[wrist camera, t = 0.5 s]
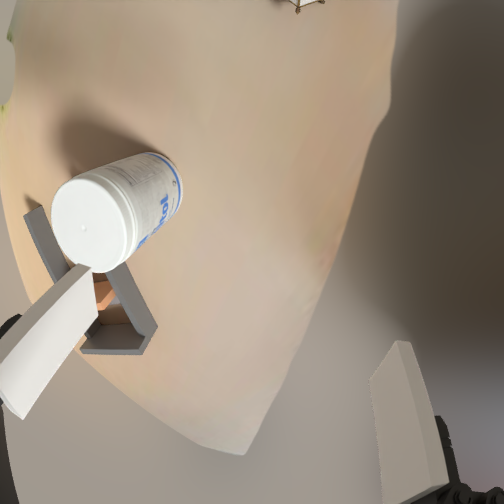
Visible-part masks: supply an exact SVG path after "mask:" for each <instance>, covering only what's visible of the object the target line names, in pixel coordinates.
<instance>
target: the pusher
mask: <svg viewBox="0 0 504 504" xmlns="http://www.w3.org/2000/svg"><path fill="white" fill-rule="evenodd" d="M93 284H94V292H95V298H96V305H97V311H98V310H104V309H105V308H106V307H107V306H108V305H113V304H121V303H120V301H119V299H118V297H117V296H116V294H115V292H114V290H113V288H112V286H111V284H110V282H109V280H107V281H102V282H97V283H93Z"/></svg>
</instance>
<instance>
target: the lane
mask: <svg viewBox="0 0 504 504" xmlns="http://www.w3.org/2000/svg"><path fill="white" fill-rule="evenodd" d="M23 217H24V219H25V222H26V224H27V227H28V229H29V232H30V234H31V236H32V239H33V241H34V243H35V245H36V248H37V250H38V252H39V254H40V256H41V258H42V260H43V262H44V264H45V266H46V268H47V270H48V272H49V274H50V276H51V278H52V280H53V282H54V284H55V283H56V282H58V281H59V280H60V279H61V278H62V277H63V276H64V275H65V274H66V273H67V272H68V271H70V268H69V266H68V264H67V262H66V260H65V258H64V256H63V254H62V252H61V250H60V247H59V245H58V243H57V241H56V239H55V236H54V234H53V232H52V229H51V227H50V225H49V222H48V220H47V217H46V215H45V212H44V210H43V207H42V206H40V207H38V208H36V209H34V210H32V211H31V212H29V213H27V214H25V215H24V216H23ZM105 274H106V276H107V278H108V280H109V282H110V284H111V286H112V288H113V290H114V292H115V294H116V296H117V297H118V299H119V301H120V303H121V305H122V307H123V308H124V310H125V312H126V314H127V316H128V317H129V319H130V321H131V323H127V324H112V325H101V324H100V322H99V321H98V319H97V318H96V319H95V320H94V322H93V323H92V324H91V325H90V327H89V328H88V329H87V331H86V332H85V333H84V334H85V336H86V337H87V339H86V341H85V342H84V343H83V345H82V346H81V347H80V350H81V352H82V353H83V354H101V355H142V354H143V352H144V351H145V349H146V347H147V345H148V343H149V342H150V340H151V338H152V336H153V335H154V333H155V331H156V329H157V328H158V326H157V324H156V322H155V320H154V318H153V316H152V315H151V313H150V311H149V309H148V307H147V305H146V303H145V301H144V299H143V297H142V296H141V294H140V292H139V290H138V288H137V286H136V284H135V282H134V279H133V277H132V275H131V273H130V271H129V269H128V267H127V265H126V263H125V261H124V262H123V263H121V264H119V265H118V266H117V267H115V268H114V269H112V270H110V271H108V272H105Z"/></svg>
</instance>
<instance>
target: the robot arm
mask: <svg viewBox="0 0 504 504" xmlns="http://www.w3.org/2000/svg"><path fill="white" fill-rule="evenodd" d="M97 317H98V311H97V305H96V298H95V292H94V284H93V277H92V268H91V267H89V266H86V265H83V264H80V263H78V264H76V265H75V266H74V267H73V268H72V269H71V270H70V271H68V272H67V273H66V274H65V275H64V276H63V277H62V278H61V279H60V280H59V281H58V282H56V283H55V284H54V285H53V286H52V287H51V288H50V289H49V290H48V291H47V292H46V293H45V294H44V295H43V296H42V297H41V298H40V299H39V300H38V301H37V302H35V303H34V304H33V305H32V306H31V307H30V308H29V309H28V310H27V312H26V313H25V314H24V315H23V316H22V315H20V314H17V315H15V316H13V317H11V318H10V319H8V320H7V321H6V322H5V323H4V324H3V325H2V326H1V327H0V504H19V501H18V497H17V493H16V490H15V486H14V481H13V477H12V472H11V467H10V462H9V457H8V450H7V444H6V436H5V427H4V417H3V410H2V407H1V405H2V404H3V402H4V403H5V405H6V406H7V407H8V408H9V410H10V411H11V412H13V413H14V414H15V415H17V416H18V417H20V418H21V419H22V420H24V418H25V416H26V415H27V413H28V412H29V410H30V409H31V407H32V406H33V404H34V403H35V401H36V400H37V398H38V397H39V395H40V393H41V392H42V391H43V389H44V388H45V386H46V385H47V383H48V382H49V381H50V379H51V378H52V376H53V375H54V373H55V372H56V371H57V369H58V368H59V367H60V365H61V364H62V362H63V361H64V360H65V358H66V357H67V355H68V354H69V353H70V352H71V350H72V349H73V348H74V346H75V345H76V344H77V342H78V341H79V340H80V338H81V337H82V336H83V334H84V333H85V332H86V331H87V329H88V328H89V327H90V325H91V324H92V323H93V322H94V320H95V319H96V318H97ZM368 383H369V388H370V394H371V400H372V407H373V413H374V420H375V428H376V435H377V443H378V452H379V461H380V472H381V484H382V499H383V504H504V491H503V489H501V488H500V487H494V488H493V489H491V490H489V491H488V492H486V493H484V492H474V491H472V490H471V488H470V487H469V486H468V485H467V484H464V483H461V482H460V479H459V475H458V471H457V465H456V461H455V457H454V452H453V448H451V446H452V444H451V440H450V439H449V437H450V436H449V432H448V429H447V425H446V424H445V422H444V421H443V419H442V418H441V416H434V414H433V410H432V407H431V403H430V400H429V397H428V393H427V390H426V387H425V384H424V381H423V378H422V374H421V371H420V369H419V366H418V363H417V360H416V357H415V354H414V351H413V349H412V346H411V344H410V342H405V341H397V340H396V341H395V342H394V344H393V346H392V347H391V349H390V350H389V352H388V353H387V355H386V356H385V358H384V359H383V361H382V362H381V364H380V365H379V366H378V368H377V369H376V371H375V372H374V374H373V375H372V376H371V378H370V379H369V380H368Z"/></svg>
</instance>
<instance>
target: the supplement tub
mask: <svg viewBox="0 0 504 504" xmlns="http://www.w3.org/2000/svg"><path fill="white" fill-rule="evenodd" d="M182 196H183V185H182V180H181V176H180V174H179V172H178V170H177V168H176V167H175V166H174V164H173V163H172V162H171V161H170V160H168V159H167V158H166V157H164V156H162V155H160V154H157V153H151V152H146V153H140V154H137V155H134V156H131V157H127V158H124V159H121V160H118V161H115V162H112V163H109V164H106V165H103V166H100V167H98V168H95V169H92V170H89V171H87V172H84V173H82V174H79V175H77V176H75V177H73V178H72V179H71V180H68V181H67V182H65V183H64V184H63V185H61V187H60V188H59V189H58V190H57V192H56V194H55V196H54V199H53V202H52V207H51V222H52V227H53V231H54V234H55V237H56V240H57V242H58V244H59V246H60V247H61V249H62V250H63V252H64V253H65V254H66V256H67V257H68V258H69V259H70V260H71V261H72V262H74V263H75V264H78V263H80V264H83V265H86V266H89V267H91V268H92V272H94V273H104V272H108V271H110V270H112V269H114V268H115V267H117V266H118V265H119V264H121V263H123V262H124V261H125V260H126V259H127V258H128V257H129V256H131V255H132V254H133V253H134V252H135V251H136V250H137V249H138V248H139V247H140V246H141V245H142V244H143V243H144V242H145V241H146V240H147V239H149V238H150V237H151V236H152V235H153V234H154V233H155V232H156V231H157V230H158V229H159V228H160V227H161V226H162V225H164V224H165V223H166V222H167V221H168V220H169V219H170V218H171V217H172V216H173V215H174V214H175V213H176V212H177V210H178V208H179V207H180V204H181V201H182Z"/></svg>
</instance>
